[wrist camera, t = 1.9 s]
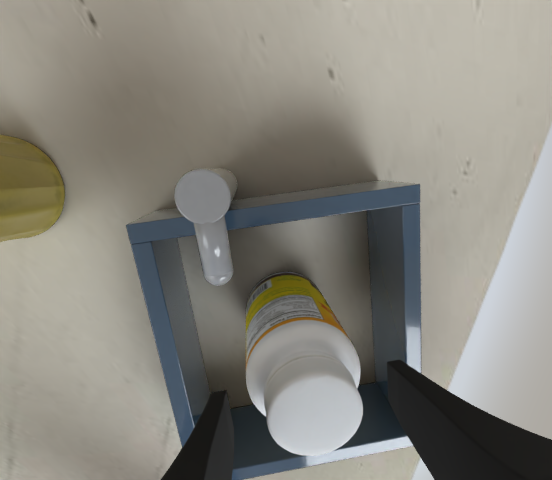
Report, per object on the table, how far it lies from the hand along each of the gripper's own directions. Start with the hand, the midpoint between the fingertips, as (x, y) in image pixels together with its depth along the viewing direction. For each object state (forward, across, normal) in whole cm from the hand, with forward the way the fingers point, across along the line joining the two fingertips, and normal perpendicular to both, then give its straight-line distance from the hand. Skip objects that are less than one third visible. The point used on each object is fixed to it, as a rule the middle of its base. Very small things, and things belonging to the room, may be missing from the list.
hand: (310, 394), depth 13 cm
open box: (+9, 0, 0) cm, 9 cm away
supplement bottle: (+9, 0, 0) cm, 9 cm away
